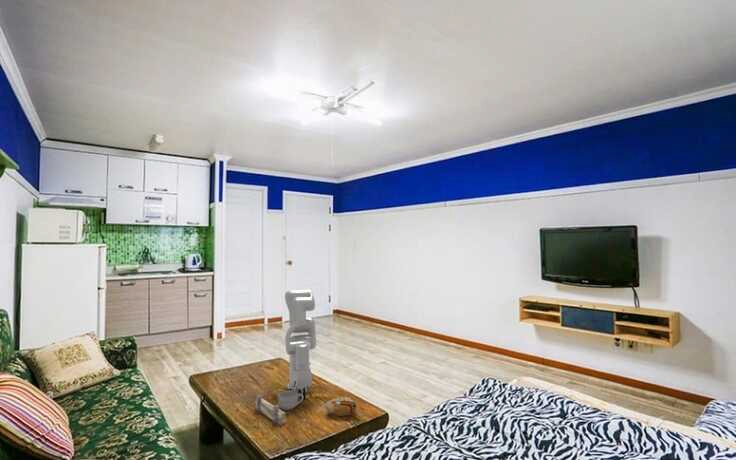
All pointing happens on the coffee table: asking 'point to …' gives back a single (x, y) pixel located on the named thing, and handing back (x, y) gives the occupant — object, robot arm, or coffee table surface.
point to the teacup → (288, 399)
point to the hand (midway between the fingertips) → (302, 399)
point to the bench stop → (270, 410)
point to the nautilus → (341, 407)
